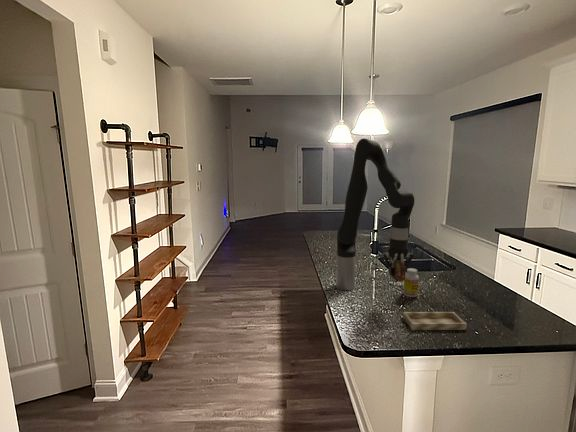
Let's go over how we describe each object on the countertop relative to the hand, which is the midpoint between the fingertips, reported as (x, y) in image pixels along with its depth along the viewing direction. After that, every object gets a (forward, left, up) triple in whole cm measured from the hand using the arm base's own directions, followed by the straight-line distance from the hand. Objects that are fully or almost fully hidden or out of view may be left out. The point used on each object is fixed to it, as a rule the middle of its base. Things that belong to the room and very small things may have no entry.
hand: (396, 275), depth 143 cm
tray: (+11, -16, -15) cm, 24 cm away
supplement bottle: (+12, +12, -15) cm, 23 cm away
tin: (0, 0, -2) cm, 2 cm away
